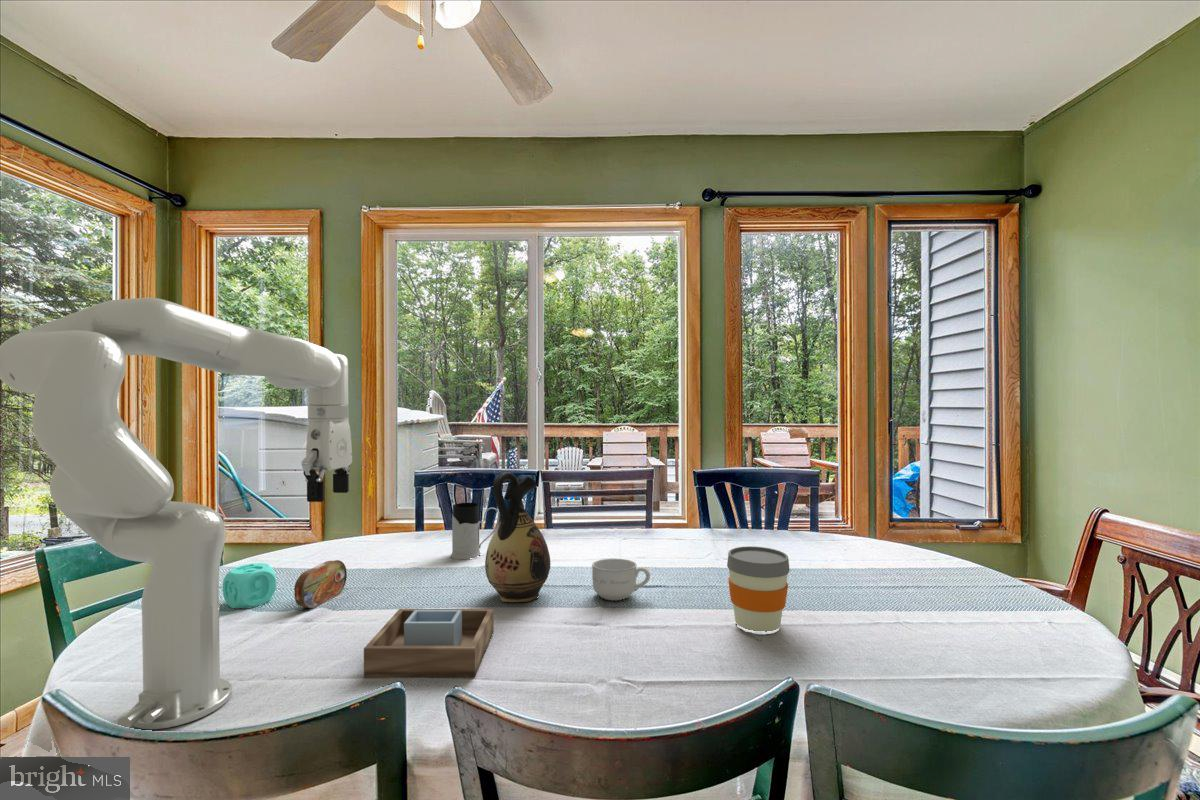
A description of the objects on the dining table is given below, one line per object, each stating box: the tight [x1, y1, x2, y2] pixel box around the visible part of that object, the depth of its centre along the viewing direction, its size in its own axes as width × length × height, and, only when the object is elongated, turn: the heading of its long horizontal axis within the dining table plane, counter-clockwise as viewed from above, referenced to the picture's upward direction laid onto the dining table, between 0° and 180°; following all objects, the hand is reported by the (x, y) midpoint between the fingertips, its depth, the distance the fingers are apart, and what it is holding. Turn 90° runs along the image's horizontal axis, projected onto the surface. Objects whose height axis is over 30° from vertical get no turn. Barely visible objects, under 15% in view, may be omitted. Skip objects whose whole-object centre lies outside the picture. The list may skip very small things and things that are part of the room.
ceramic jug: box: [484, 471, 551, 603], centre depth 131 cm, size 17×15×30 cm
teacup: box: [591, 558, 651, 601], centre depth 131 cm, size 14×11×8 cm
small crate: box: [404, 610, 462, 646], centre depth 103 cm, size 6×9×6 cm, turn 90°
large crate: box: [363, 608, 495, 678], centre depth 103 cm, size 17×19×5 cm
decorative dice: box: [222, 562, 277, 609], centre depth 128 cm, size 8×8×8 cm
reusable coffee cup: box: [726, 545, 791, 632], centre depth 115 cm, size 13×13×15 cm
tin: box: [293, 559, 348, 609], centre depth 129 cm, size 15×3×8 cm, turn 168°
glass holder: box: [450, 502, 500, 560], centre depth 165 cm, size 9×14×15 cm, turn 107°
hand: (328, 496), depth 113 cm, fingers open, 9 cm apart
